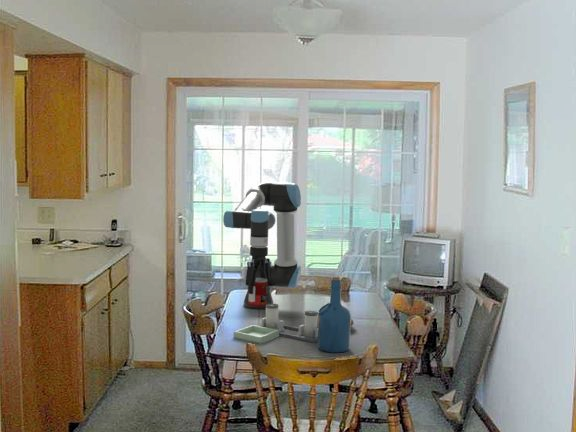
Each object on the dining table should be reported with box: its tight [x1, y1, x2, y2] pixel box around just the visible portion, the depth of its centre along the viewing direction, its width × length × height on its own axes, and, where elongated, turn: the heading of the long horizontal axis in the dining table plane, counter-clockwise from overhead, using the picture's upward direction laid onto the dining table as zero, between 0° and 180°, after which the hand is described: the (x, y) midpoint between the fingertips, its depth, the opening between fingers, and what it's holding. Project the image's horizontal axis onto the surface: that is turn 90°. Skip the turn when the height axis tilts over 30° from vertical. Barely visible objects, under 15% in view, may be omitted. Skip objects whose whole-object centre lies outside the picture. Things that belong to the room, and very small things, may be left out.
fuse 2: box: [303, 310, 318, 339], centre depth 297 cm, size 6×6×11 cm
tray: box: [232, 324, 280, 345], centre depth 294 cm, size 14×14×3 cm
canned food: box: [247, 277, 267, 307], centre depth 293 cm, size 8×8×11 cm
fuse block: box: [258, 316, 318, 343], centre depth 303 cm, size 31×13×4 cm, turn 58°
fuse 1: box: [265, 303, 279, 330], centre depth 308 cm, size 6×6×11 cm
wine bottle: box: [317, 275, 352, 354], centre depth 280 cm, size 14×13×30 cm
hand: (257, 299), depth 293 cm, fingers closed on canned food, 8 cm apart
